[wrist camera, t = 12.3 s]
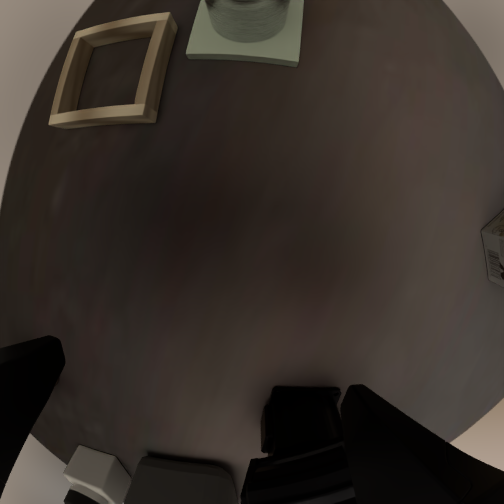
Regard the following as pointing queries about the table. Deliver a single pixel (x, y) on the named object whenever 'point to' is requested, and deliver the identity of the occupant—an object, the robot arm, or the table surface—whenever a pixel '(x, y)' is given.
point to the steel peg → (247, 18)
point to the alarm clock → (180, 483)
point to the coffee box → (495, 249)
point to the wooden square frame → (150, 80)
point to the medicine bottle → (95, 478)
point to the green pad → (268, 51)
